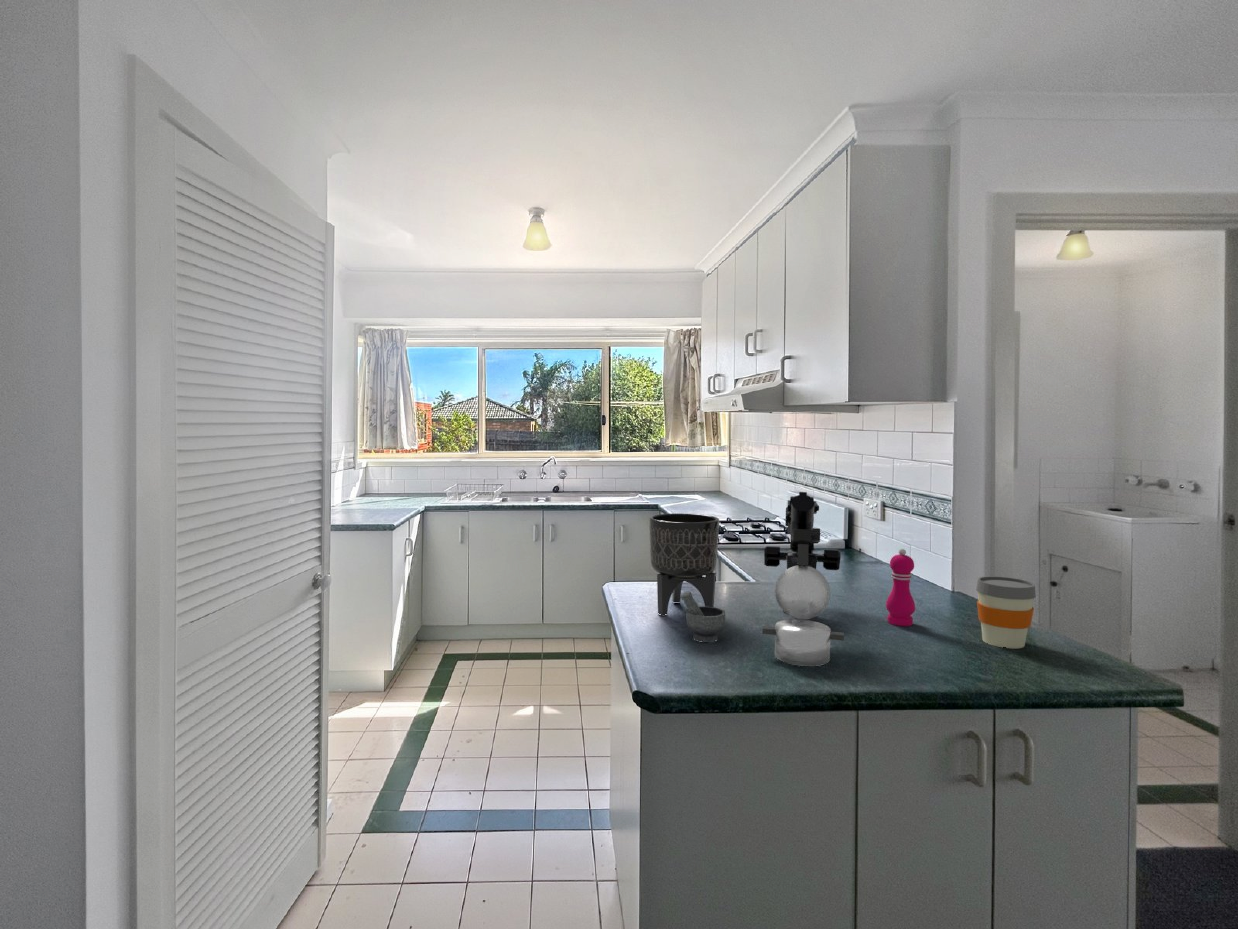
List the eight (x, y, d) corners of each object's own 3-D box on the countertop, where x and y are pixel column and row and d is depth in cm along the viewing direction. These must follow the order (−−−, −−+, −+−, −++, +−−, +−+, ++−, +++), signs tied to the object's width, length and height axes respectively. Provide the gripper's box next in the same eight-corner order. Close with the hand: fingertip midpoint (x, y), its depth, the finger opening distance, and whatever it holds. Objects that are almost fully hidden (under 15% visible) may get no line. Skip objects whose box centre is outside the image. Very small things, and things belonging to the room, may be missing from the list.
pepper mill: (917, 627, 174) (920, 552, 173) (888, 625, 175) (890, 550, 174) (911, 620, 181) (913, 547, 180) (883, 618, 182) (885, 546, 181)
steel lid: (774, 617, 158) (774, 617, 159) (830, 621, 155) (829, 621, 156) (776, 542, 161) (776, 543, 162) (830, 545, 158) (830, 546, 159)
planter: (724, 605, 194) (726, 515, 192) (708, 624, 175) (710, 524, 174) (660, 598, 201) (661, 511, 199) (638, 615, 183) (639, 520, 181)
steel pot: (762, 645, 158) (763, 616, 158) (840, 652, 154) (841, 622, 154) (761, 663, 147) (761, 631, 146) (845, 670, 142) (846, 638, 142)
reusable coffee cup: (962, 637, 166) (964, 578, 165) (997, 632, 171) (999, 574, 170) (1009, 653, 154) (1012, 590, 154) (1045, 647, 159) (1048, 585, 158)
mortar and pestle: (717, 632, 168) (718, 585, 168) (731, 644, 159) (732, 594, 159) (675, 634, 166) (675, 587, 166) (685, 646, 157) (686, 596, 156)
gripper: (765, 515, 172) (762, 565, 162) (841, 518, 168) (843, 570, 157) (765, 540, 180) (763, 590, 170) (837, 544, 176) (840, 595, 165)
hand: (801, 586), depth 165 cm, fingers closed
